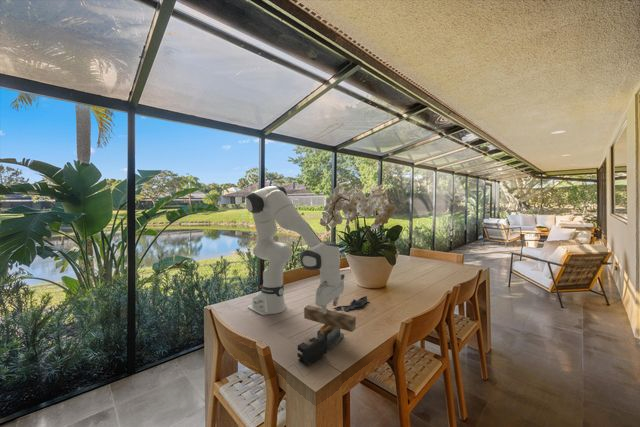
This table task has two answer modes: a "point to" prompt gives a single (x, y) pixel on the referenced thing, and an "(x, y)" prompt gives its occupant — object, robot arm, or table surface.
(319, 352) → the end cap
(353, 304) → the decorative bat
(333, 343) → the fulcrum stand
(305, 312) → the walnut beam
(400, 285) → the table surface
